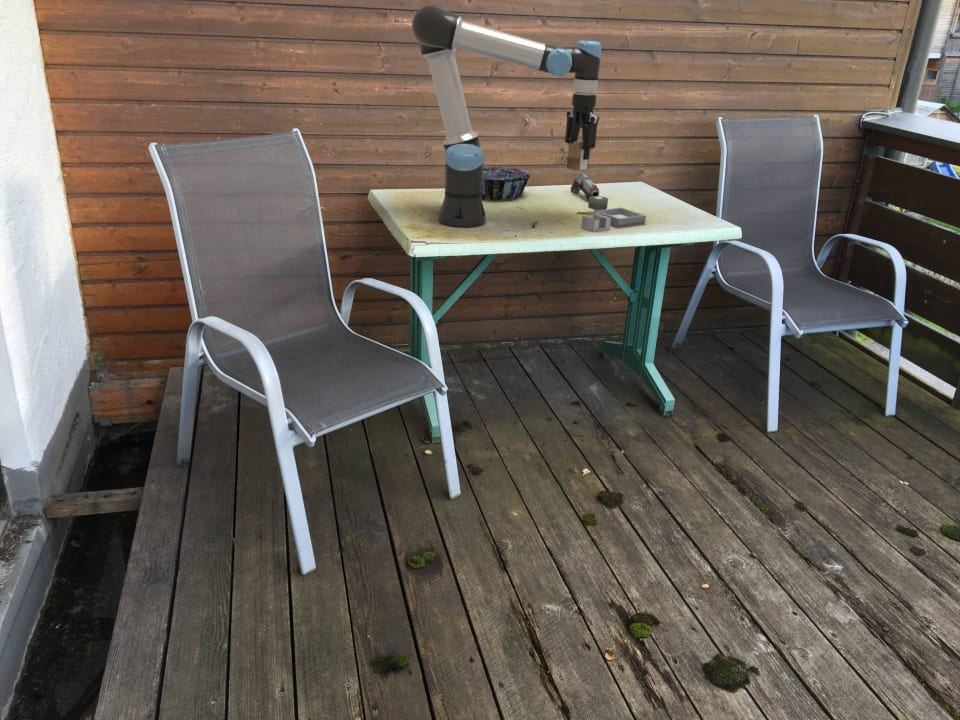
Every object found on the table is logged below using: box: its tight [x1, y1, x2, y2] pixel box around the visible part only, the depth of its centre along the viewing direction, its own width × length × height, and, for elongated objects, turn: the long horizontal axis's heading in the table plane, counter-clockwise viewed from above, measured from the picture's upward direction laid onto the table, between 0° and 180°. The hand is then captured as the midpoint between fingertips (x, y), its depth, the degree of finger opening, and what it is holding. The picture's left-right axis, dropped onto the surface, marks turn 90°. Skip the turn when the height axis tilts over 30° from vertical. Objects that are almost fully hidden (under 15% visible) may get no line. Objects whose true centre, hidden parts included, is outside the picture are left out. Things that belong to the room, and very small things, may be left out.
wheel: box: [587, 195, 609, 218], centre depth 245 cm, size 6×6×6 cm
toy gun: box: [570, 172, 600, 202], centre depth 287 cm, size 4×20×10 cm, turn 16°
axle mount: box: [580, 214, 611, 233], centre depth 247 cm, size 7×6×4 cm
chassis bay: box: [600, 206, 647, 229], centre depth 256 cm, size 12×12×3 cm
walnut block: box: [566, 140, 591, 172], centre depth 253 cm, size 5×5×9 cm
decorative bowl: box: [481, 165, 531, 202], centre depth 284 cm, size 26×28×10 cm
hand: (577, 167), depth 254 cm, fingers closed on walnut block, 5 cm apart
